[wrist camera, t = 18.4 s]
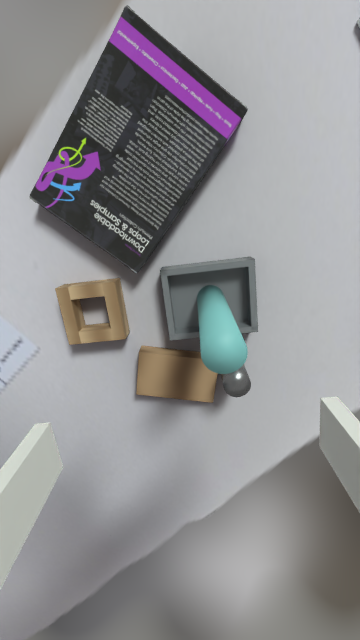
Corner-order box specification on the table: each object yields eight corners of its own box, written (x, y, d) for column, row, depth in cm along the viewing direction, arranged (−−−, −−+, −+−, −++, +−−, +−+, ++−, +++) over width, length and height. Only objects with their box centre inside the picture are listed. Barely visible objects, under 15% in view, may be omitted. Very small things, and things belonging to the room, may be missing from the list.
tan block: (139, 384, 41) (136, 394, 38) (142, 344, 39) (139, 352, 37) (211, 392, 41) (212, 402, 38) (217, 352, 39) (219, 361, 37)
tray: (171, 332, 38) (169, 340, 35) (162, 267, 35) (159, 270, 33) (253, 324, 37) (257, 331, 35) (250, 256, 35) (254, 259, 32)
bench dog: (219, 372, 39) (224, 398, 34) (218, 352, 38) (222, 374, 33) (242, 370, 39) (251, 395, 33) (241, 350, 38) (250, 372, 33)
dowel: (195, 286, 35) (198, 333, 20) (222, 283, 35) (246, 329, 20) (198, 312, 36) (203, 375, 21) (224, 309, 36) (248, 371, 21)
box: (133, 27, 29) (40, 199, 34) (126, 0, 26) (23, 195, 31) (243, 121, 31) (140, 272, 36) (250, 108, 28) (134, 276, 33)
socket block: (76, 337, 39) (69, 344, 36) (64, 284, 36) (55, 288, 34) (129, 331, 38) (125, 339, 36) (119, 277, 36) (114, 281, 34)
